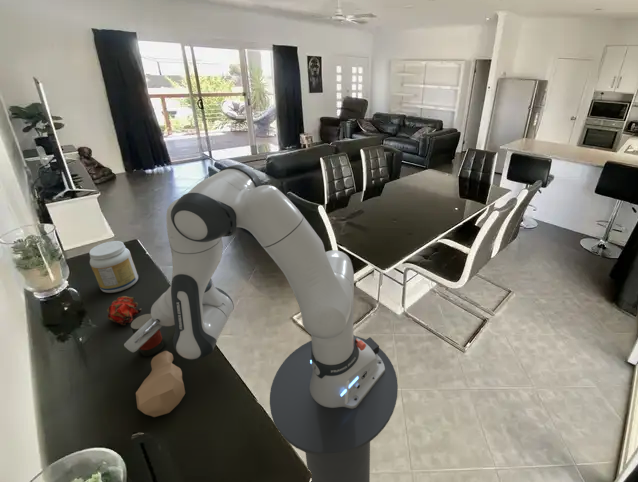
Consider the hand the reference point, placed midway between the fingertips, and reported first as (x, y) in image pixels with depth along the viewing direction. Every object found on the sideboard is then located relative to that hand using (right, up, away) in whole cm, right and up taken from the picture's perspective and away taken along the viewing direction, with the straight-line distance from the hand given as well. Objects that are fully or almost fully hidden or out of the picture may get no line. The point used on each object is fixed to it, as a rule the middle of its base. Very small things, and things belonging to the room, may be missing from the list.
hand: (149, 329), depth 96 cm
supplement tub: (-33, +6, +31) cm, 46 cm away
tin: (-1, -7, +3) cm, 8 cm away
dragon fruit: (-18, -2, +14) cm, 23 cm away
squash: (+10, -13, -9) cm, 19 cm away
